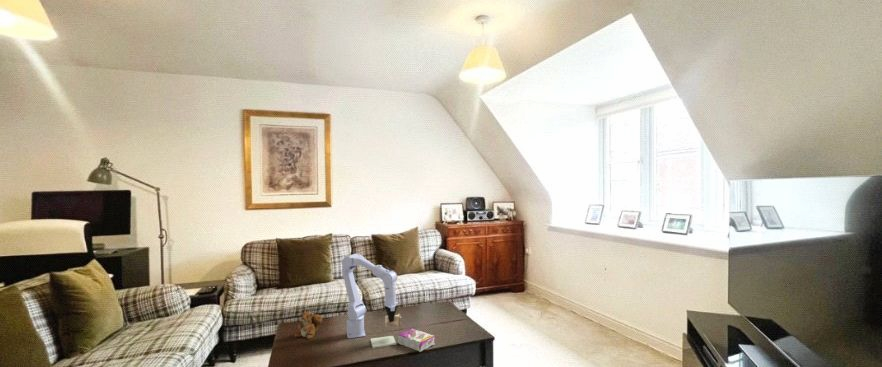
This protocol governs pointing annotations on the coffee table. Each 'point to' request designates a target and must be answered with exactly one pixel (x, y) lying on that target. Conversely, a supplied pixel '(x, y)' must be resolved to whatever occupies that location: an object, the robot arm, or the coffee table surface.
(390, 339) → the board
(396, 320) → the wooden t-shaped block
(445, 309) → the coffee table surface
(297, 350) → the coffee table surface
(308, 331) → the stuffed squirrel
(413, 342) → the candy bar box
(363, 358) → the coffee table surface
